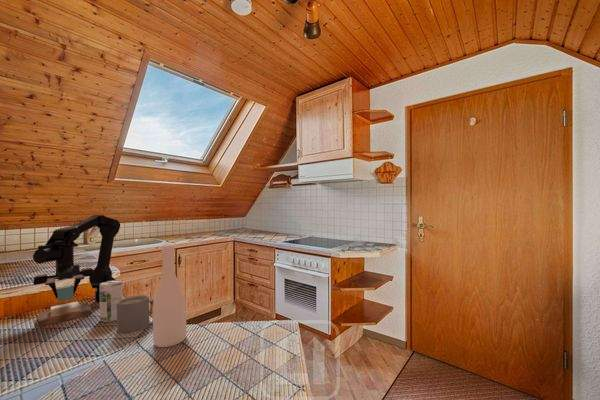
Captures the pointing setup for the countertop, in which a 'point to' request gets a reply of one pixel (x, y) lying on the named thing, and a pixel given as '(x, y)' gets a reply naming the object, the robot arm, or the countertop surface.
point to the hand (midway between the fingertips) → (65, 296)
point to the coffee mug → (133, 313)
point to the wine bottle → (169, 305)
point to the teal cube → (65, 293)
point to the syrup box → (110, 300)
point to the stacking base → (63, 317)
